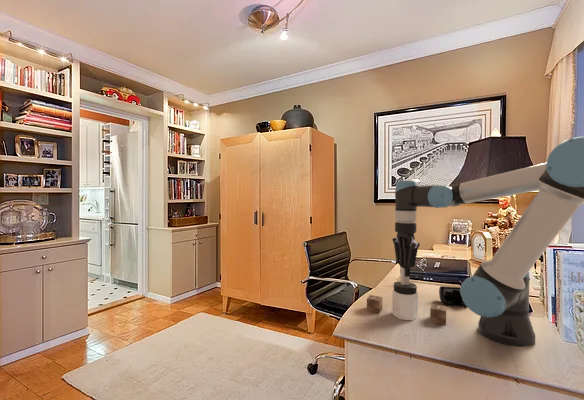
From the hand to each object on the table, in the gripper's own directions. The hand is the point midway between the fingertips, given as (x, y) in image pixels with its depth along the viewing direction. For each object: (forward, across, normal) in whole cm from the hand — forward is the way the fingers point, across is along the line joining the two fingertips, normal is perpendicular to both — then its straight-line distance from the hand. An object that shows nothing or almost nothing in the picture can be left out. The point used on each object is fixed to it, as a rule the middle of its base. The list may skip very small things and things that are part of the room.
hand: (405, 284), depth 111 cm
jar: (+12, 0, 0) cm, 12 cm away
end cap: (+12, +5, -28) cm, 31 cm away
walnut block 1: (+12, -7, -9) cm, 17 cm away
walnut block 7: (+12, +8, +8) cm, 17 cm away
